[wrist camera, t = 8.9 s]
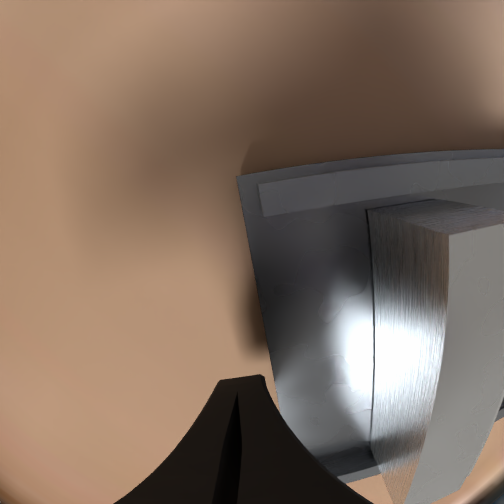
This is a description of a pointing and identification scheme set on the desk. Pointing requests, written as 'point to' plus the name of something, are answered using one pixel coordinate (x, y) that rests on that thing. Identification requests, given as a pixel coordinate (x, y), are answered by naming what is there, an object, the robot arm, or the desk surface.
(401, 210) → the moving jaw
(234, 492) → the robot arm
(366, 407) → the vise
